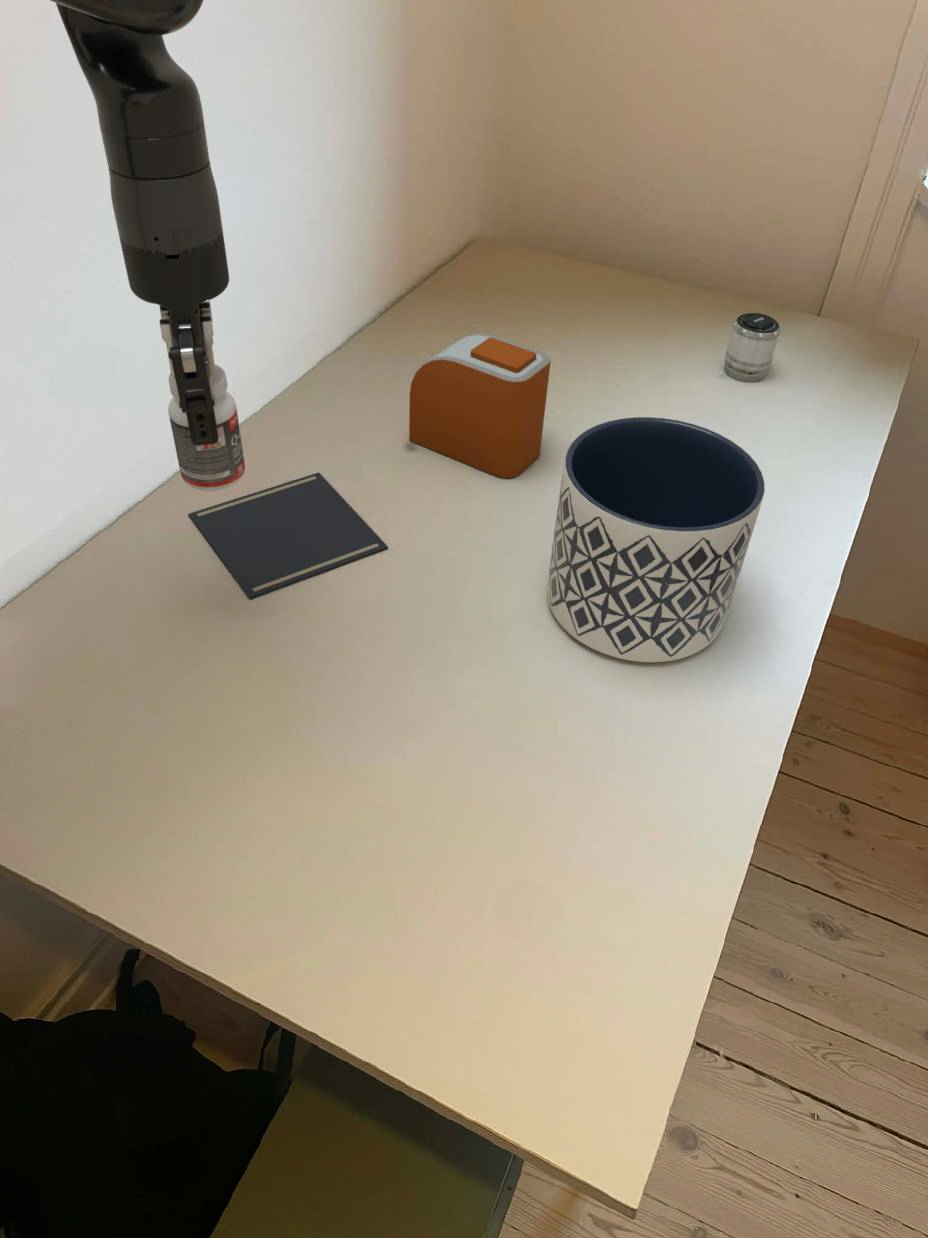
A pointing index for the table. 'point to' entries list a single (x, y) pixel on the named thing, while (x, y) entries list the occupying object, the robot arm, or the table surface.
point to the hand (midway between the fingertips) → (204, 421)
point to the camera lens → (751, 346)
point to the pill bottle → (211, 461)
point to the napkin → (286, 534)
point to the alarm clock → (482, 404)
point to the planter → (651, 536)
